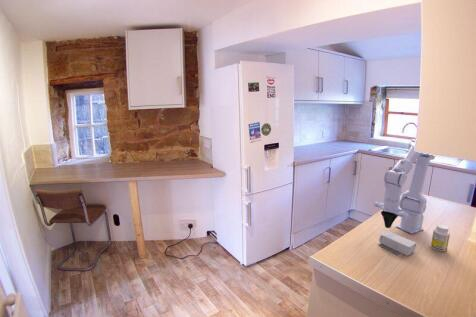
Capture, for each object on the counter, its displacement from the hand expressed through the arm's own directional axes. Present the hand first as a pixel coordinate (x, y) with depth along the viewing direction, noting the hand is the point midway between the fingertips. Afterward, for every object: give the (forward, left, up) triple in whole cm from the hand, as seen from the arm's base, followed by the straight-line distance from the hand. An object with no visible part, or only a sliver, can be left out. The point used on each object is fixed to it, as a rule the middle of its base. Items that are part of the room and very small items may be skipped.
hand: (387, 227), depth 116 cm
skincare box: (0, -2, -5) cm, 6 cm away
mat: (-1, +4, -8) cm, 9 cm away
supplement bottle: (-17, +12, -8) cm, 23 cm away
